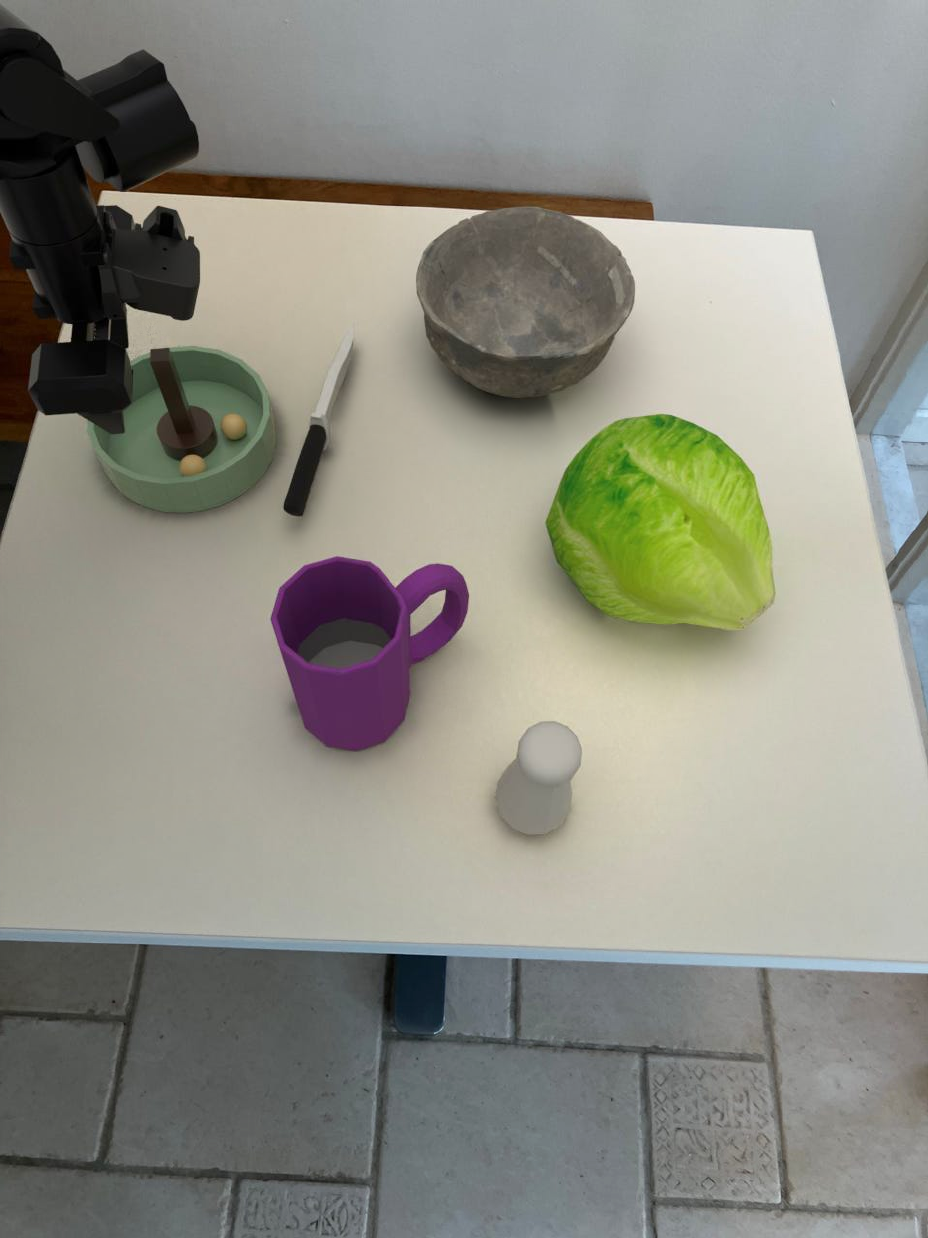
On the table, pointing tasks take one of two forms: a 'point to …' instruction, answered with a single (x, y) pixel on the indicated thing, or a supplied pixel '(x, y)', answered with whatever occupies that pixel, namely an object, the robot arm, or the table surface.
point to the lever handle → (180, 413)
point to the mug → (359, 643)
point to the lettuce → (664, 526)
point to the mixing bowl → (220, 392)
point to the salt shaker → (540, 779)
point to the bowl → (523, 299)
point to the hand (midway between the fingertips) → (120, 388)
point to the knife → (318, 431)
